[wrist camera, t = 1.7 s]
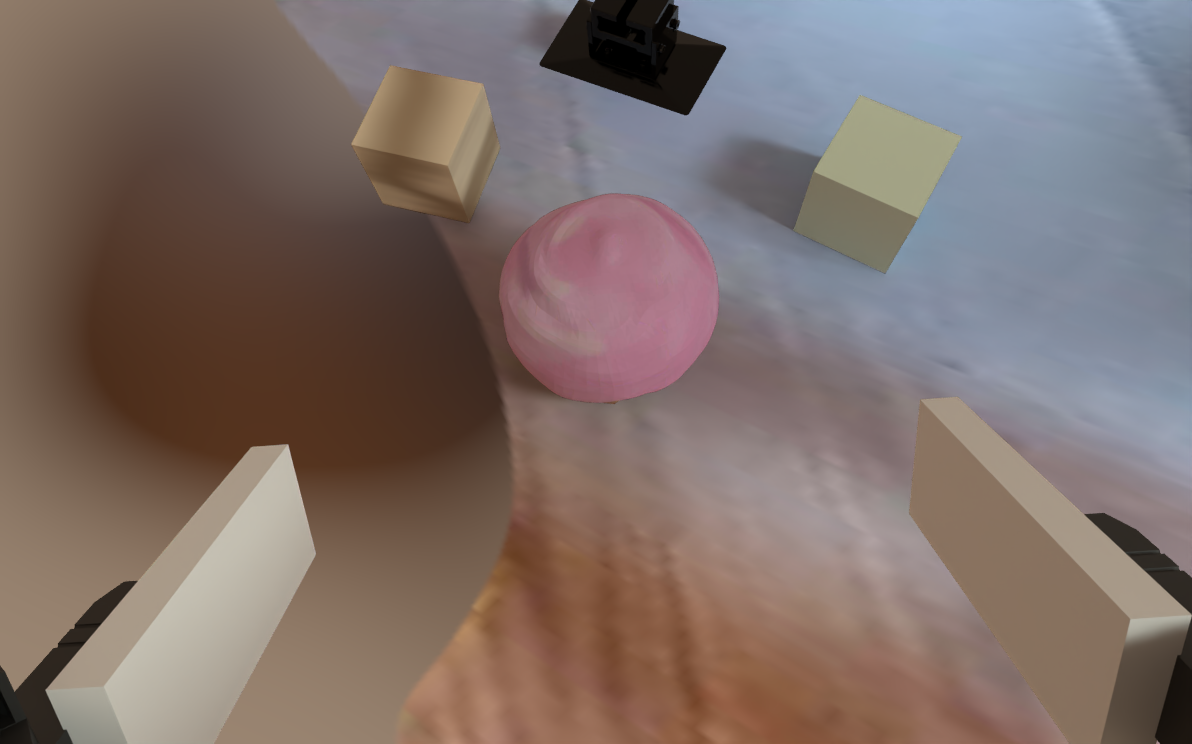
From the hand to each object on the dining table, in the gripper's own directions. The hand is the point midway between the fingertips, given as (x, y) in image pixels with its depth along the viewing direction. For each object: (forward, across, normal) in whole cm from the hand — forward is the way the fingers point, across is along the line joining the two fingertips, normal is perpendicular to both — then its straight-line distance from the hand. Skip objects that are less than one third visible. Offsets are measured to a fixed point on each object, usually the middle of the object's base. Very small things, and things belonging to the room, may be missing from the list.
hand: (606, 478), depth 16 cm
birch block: (+29, -8, +3) cm, 30 cm away
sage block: (+26, +14, 0) cm, 29 cm away
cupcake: (+21, 0, -6) cm, 22 cm away
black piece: (+34, +3, +7) cm, 35 cm away
